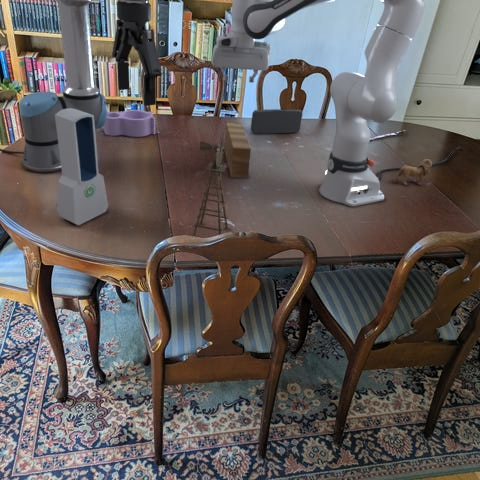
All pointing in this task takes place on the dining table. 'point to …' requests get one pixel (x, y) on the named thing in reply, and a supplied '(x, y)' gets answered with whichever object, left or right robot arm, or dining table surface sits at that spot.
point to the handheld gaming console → (276, 121)
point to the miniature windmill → (215, 168)
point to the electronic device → (79, 168)
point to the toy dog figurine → (415, 171)
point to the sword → (386, 135)
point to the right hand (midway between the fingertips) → (238, 81)
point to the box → (237, 150)
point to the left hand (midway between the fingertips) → (136, 97)
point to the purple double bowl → (130, 123)
